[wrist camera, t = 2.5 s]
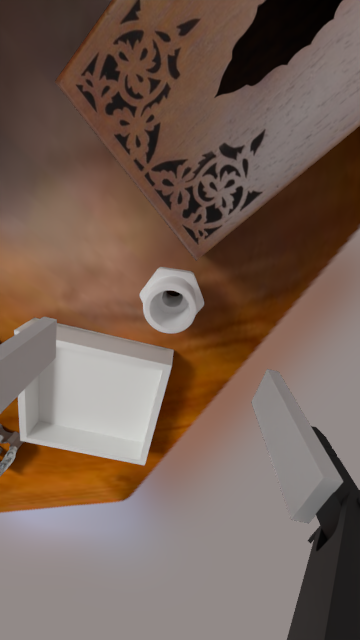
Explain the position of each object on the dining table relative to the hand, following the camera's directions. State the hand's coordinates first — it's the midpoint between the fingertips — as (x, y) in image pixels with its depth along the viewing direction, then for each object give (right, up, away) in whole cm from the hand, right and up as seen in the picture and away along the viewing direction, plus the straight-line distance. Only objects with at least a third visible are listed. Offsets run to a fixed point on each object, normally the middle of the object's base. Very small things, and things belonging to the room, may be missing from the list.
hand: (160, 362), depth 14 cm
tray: (-12, -8, +22) cm, 26 cm away
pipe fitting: (+1, +7, +15) cm, 17 cm away
